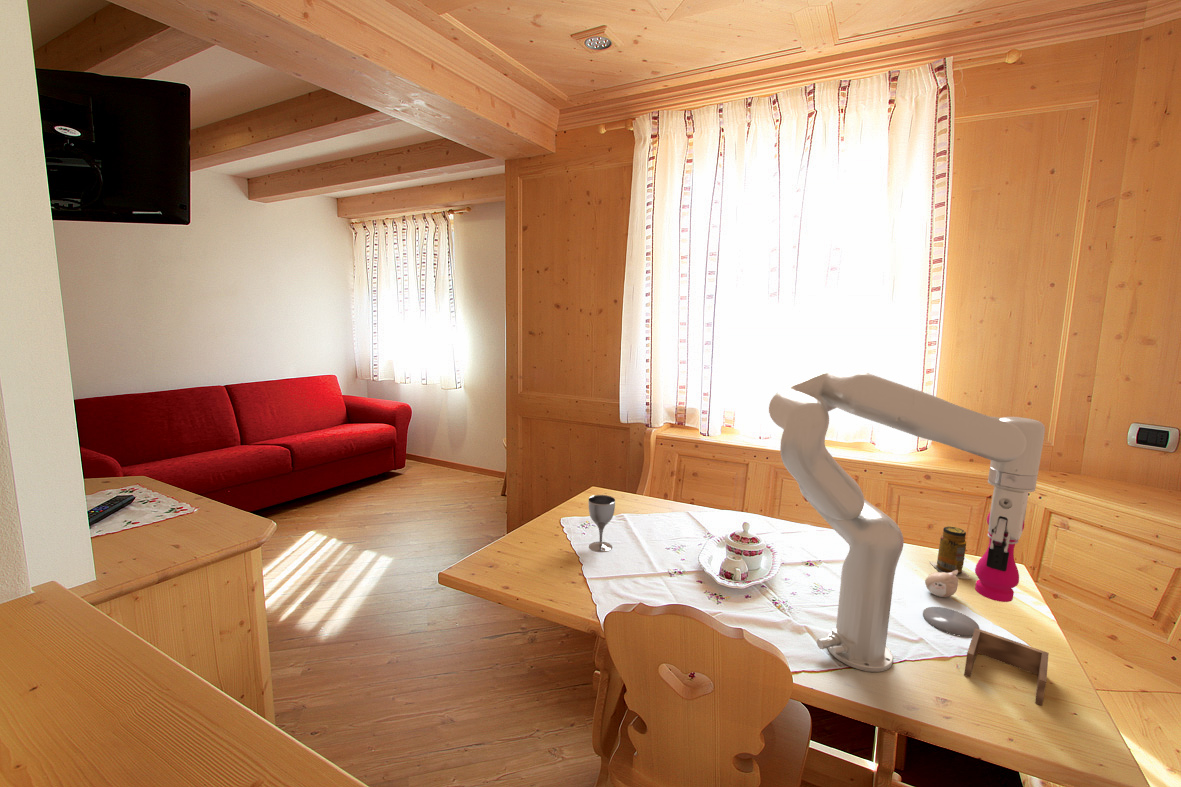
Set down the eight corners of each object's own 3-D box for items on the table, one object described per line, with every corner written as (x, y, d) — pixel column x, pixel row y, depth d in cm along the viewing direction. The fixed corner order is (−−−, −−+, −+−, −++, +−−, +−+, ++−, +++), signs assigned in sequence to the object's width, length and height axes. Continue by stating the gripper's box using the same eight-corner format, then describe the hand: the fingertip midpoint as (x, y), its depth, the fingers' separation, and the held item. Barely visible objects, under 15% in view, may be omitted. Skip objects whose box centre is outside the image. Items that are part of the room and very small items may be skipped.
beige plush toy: (943, 603, 132) (947, 574, 130) (919, 590, 138) (922, 562, 136) (960, 598, 134) (964, 569, 133) (936, 586, 140) (940, 558, 139)
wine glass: (586, 541, 162) (587, 495, 160) (611, 540, 163) (613, 494, 161) (588, 553, 155) (590, 504, 152) (615, 552, 155) (617, 504, 153)
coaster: (955, 640, 117) (955, 637, 117) (911, 612, 127) (912, 610, 127) (990, 632, 120) (991, 629, 120) (945, 606, 131) (946, 603, 130)
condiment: (956, 565, 152) (962, 526, 150) (972, 579, 144) (978, 538, 142) (929, 562, 154) (934, 523, 152) (942, 576, 145) (948, 535, 143)
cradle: (963, 675, 106) (967, 652, 105) (972, 648, 114) (975, 627, 113) (1042, 706, 98) (1046, 681, 97) (1044, 675, 106) (1048, 652, 105)
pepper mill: (1004, 588, 112) (1019, 498, 109) (1023, 606, 105) (1039, 510, 102) (965, 583, 113) (979, 494, 110) (981, 600, 107) (996, 506, 103)
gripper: (1031, 493, 97) (1016, 585, 99) (1040, 474, 109) (1026, 557, 111) (981, 483, 102) (968, 571, 105) (995, 466, 114) (983, 545, 117)
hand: (998, 562), depth 108 cm, fingers closed on pepper mill, 5 cm apart
